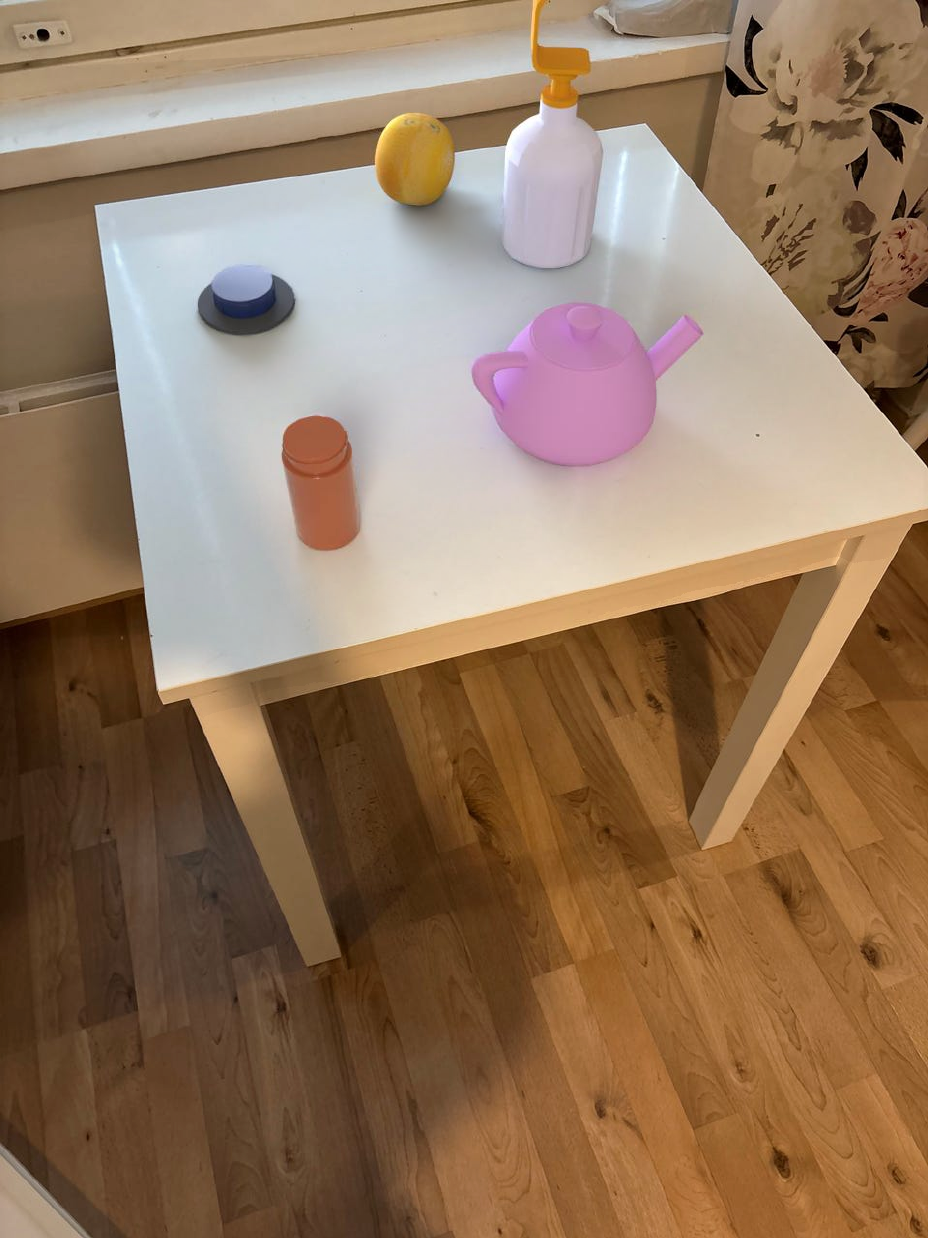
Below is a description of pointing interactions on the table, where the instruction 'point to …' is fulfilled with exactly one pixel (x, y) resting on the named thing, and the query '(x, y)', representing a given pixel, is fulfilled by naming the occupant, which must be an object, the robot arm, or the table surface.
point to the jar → (321, 482)
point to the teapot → (578, 383)
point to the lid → (243, 291)
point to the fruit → (414, 159)
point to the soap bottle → (552, 167)
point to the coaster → (248, 325)
